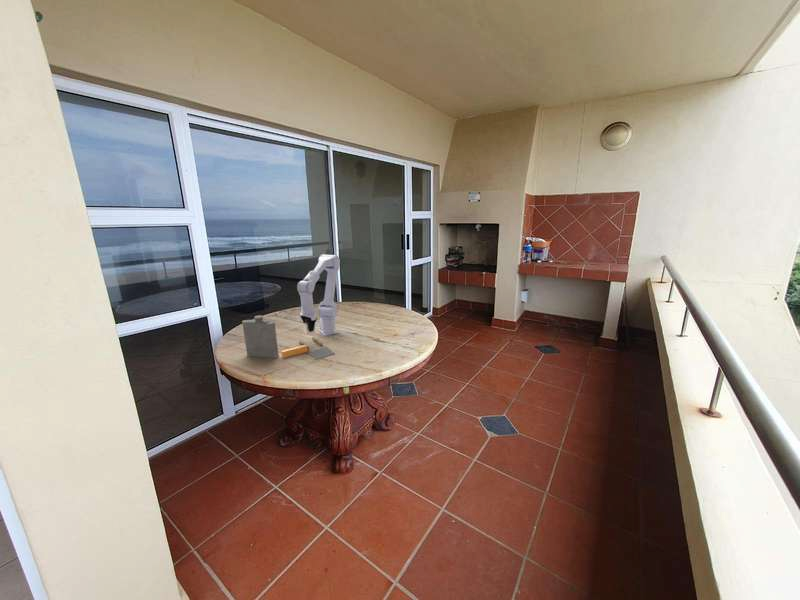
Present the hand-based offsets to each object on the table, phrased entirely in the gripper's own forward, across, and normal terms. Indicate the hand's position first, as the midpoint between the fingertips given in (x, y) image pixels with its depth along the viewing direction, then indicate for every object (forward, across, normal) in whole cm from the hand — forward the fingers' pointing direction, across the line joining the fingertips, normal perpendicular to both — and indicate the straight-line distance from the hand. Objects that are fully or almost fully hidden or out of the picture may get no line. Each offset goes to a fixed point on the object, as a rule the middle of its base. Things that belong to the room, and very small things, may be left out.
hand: (309, 329), depth 164 cm
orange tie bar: (+8, +6, -10) cm, 15 cm away
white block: (+2, 0, 0) cm, 2 cm away
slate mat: (+8, +13, 0) cm, 15 cm away
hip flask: (+9, -2, -23) cm, 25 cm away
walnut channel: (+8, 0, 0) cm, 8 cm away
